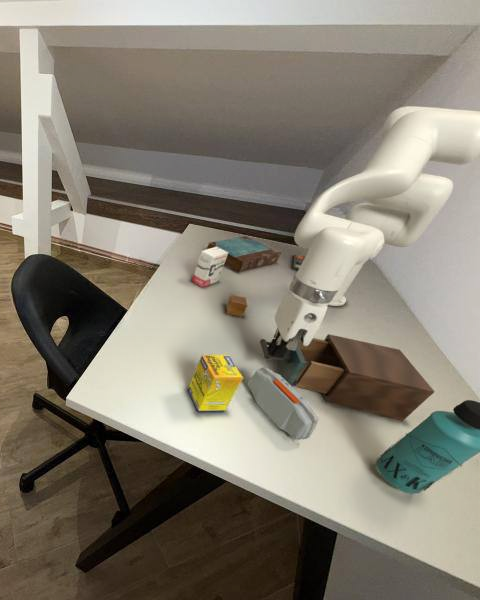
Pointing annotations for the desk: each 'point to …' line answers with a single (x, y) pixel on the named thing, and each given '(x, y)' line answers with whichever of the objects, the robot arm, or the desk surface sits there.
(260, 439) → the desk surface
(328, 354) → the drawer
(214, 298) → the desk surface
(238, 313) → the block
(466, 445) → the beverage bottle
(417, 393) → the cabinet
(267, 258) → the book
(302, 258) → the calculator
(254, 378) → the gray case
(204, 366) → the supplement box
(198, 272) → the ink box
